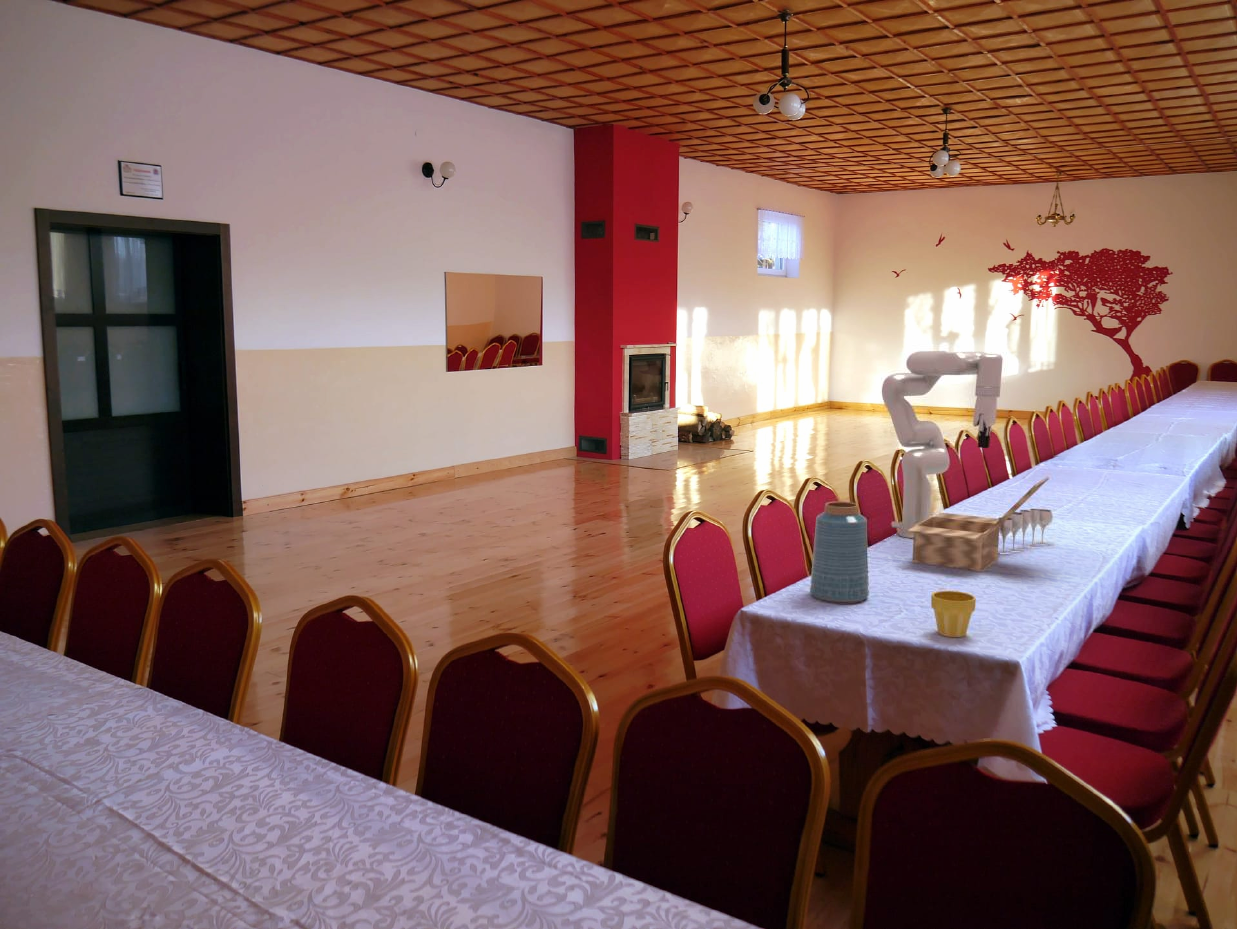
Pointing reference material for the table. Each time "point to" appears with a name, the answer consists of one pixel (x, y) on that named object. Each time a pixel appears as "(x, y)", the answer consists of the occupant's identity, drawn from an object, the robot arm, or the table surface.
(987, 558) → the carton
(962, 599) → the plant pot
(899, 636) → the table surface
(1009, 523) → the goblet set
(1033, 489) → the lid flap
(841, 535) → the vase
